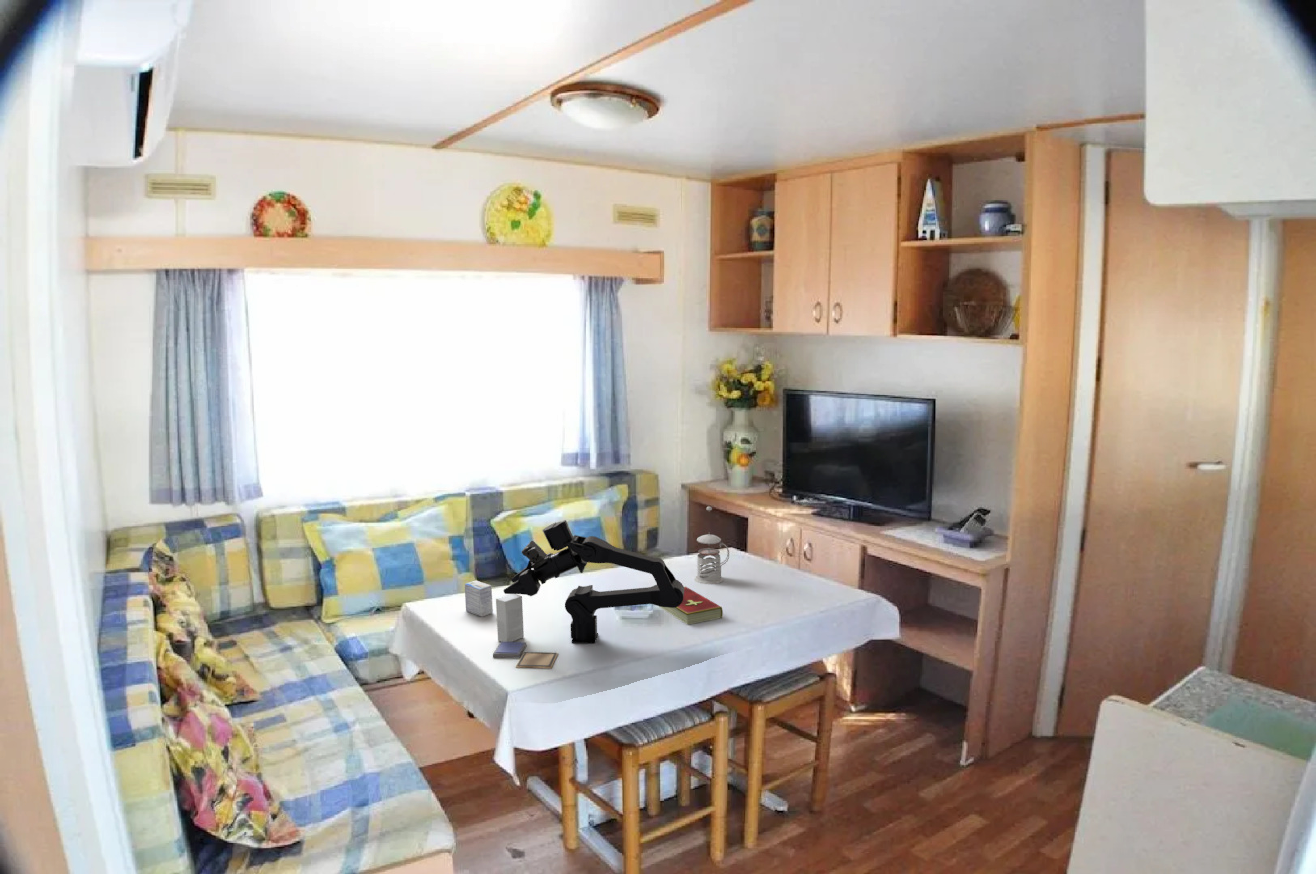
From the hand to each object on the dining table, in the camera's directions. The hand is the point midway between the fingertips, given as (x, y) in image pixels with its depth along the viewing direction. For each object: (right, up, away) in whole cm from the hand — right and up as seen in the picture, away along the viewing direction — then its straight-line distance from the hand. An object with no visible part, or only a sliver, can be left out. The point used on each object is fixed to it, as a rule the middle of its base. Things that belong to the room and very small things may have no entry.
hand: (508, 586), depth 229 cm
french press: (+59, -7, +52) cm, 79 cm away
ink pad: (+2, -16, -7) cm, 18 cm away
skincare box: (0, -15, +2) cm, 15 cm away
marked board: (+10, -17, -13) cm, 23 cm away
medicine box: (-13, -12, +22) cm, 28 cm away
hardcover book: (+50, -12, +23) cm, 56 cm away
